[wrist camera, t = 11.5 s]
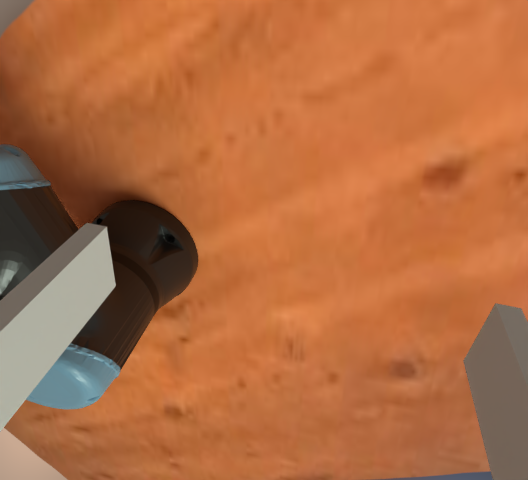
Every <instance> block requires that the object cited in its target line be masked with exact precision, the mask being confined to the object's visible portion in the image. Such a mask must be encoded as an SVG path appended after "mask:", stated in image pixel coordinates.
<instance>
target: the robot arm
mask: <svg viewBox="0 0 528 480" xmlns="http://www.w3.org/2000/svg"><path fill="white" fill-rule="evenodd" d="M50 185H51V183H50V181H49V180H46V179H45V178H44V176H43V175H42V173H41V172H40V171H39V169H38V168H37V167H36V165H35V164H34V163H33V161H32V160H31V159H30V157H29V156H28V154H27V153H26V152H24V151H23V150H22V149H20V148H18V147H16V146H13V145H9V144H1V145H0V431H1V430H2V429H3V427H4V426H5V425H6V424H7V422H8V421H9V420H10V419H11V417H12V416H13V415H14V414H15V412H16V411H17V410H18V409H19V407H20V406H21V405H22V404H23V402H24V401H25V400H29V401H31V402H34V403H37V404H40V405H44V406H48V407H52V408H59V409H79V408H83V407H86V406H89V405H91V404H93V403H95V402H96V401H97V400H98V399H99V398H100V397H101V396H102V395H103V393H104V392H105V391H106V389H107V388H108V387H109V385H110V384H111V382H112V381H113V380H114V379H115V378H116V377H118V375H119V373H120V370H121V369H122V367H123V365H124V364H125V362H126V361H127V359H128V357H129V356H130V354H131V352H132V351H133V349H134V347H135V346H136V344H137V343H138V341H139V339H140V338H141V336H142V334H143V333H144V331H145V329H146V328H147V326H148V324H149V323H150V321H151V320H152V318H153V316H154V315H155V313H156V312H157V310H158V309H160V308H161V307H162V306H164V305H165V304H166V303H168V302H169V301H170V300H172V299H173V298H174V297H176V296H177V295H179V294H181V293H182V292H183V291H184V290H185V289H186V288H187V286H188V285H189V283H190V282H191V280H192V278H193V277H194V275H195V273H196V270H197V266H198V254H197V249H196V246H195V243H194V241H193V239H192V237H191V235H190V234H189V232H188V231H187V230H186V228H185V227H184V226H183V225H182V224H181V223H180V222H179V221H178V220H177V219H176V218H175V217H174V216H172V215H171V214H169V213H168V212H166V211H165V210H163V209H161V208H159V207H157V206H155V205H152V204H149V203H146V202H142V201H134V200H127V201H120V202H117V203H114V204H112V205H110V206H109V207H107V208H106V209H105V210H104V211H103V212H101V213H100V214H99V215H98V216H97V217H96V218H95V219H94V221H93V222H92V224H91V223H86V224H85V225H84V226H82V227H81V228H80V229H79V230H78V228H77V227H76V225H75V224H74V222H73V221H72V219H71V217H70V216H69V214H68V213H67V211H66V210H65V208H64V207H63V205H62V204H61V202H60V200H59V199H58V197H57V196H56V194H55V192H54V191H53V189H52V188H51V186H50ZM464 365H465V369H466V373H467V377H468V381H469V385H470V389H471V393H472V397H473V401H474V405H475V409H476V413H477V418H478V422H479V426H480V430H481V434H482V438H483V442H484V446H485V450H486V454H487V458H488V462H489V466H490V470H491V474H492V478H493V480H528V322H527V320H526V318H525V316H524V314H523V311H522V309H521V308H516V307H511V306H506V305H501V304H496V303H495V305H494V307H493V309H492V311H491V312H490V314H489V316H488V318H487V320H486V321H485V323H484V325H483V327H482V329H481V330H480V332H479V334H478V336H477V337H476V339H475V341H474V343H473V345H472V346H471V348H470V350H469V352H468V354H467V355H466V357H465V359H464Z"/></svg>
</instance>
